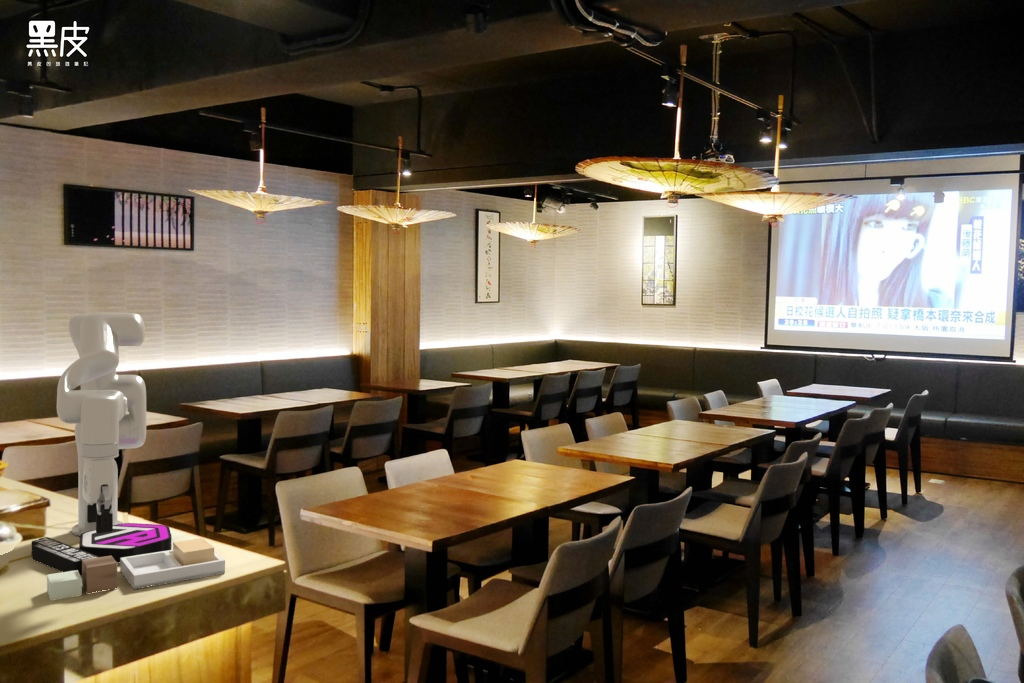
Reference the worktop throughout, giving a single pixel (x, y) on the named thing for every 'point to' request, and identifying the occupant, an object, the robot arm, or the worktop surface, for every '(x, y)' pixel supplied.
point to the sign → (103, 545)
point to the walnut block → (99, 574)
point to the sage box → (64, 584)
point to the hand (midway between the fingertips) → (99, 526)
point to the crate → (173, 564)
